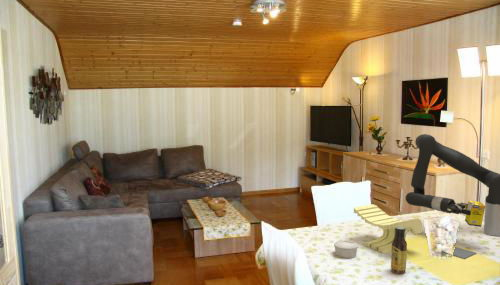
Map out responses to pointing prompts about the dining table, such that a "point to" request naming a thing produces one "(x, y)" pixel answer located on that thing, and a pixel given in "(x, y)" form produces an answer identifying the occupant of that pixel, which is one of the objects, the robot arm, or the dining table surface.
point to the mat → (462, 253)
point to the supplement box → (475, 213)
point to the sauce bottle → (399, 251)
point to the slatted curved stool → (385, 226)
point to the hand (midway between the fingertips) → (474, 211)
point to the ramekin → (346, 249)
